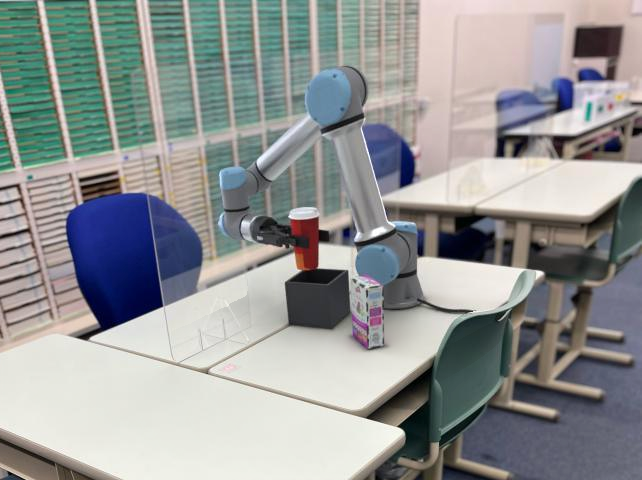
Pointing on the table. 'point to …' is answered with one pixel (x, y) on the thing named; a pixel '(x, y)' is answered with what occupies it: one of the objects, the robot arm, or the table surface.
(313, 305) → the trash bin
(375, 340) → the candy bar box
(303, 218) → the coffee cup
